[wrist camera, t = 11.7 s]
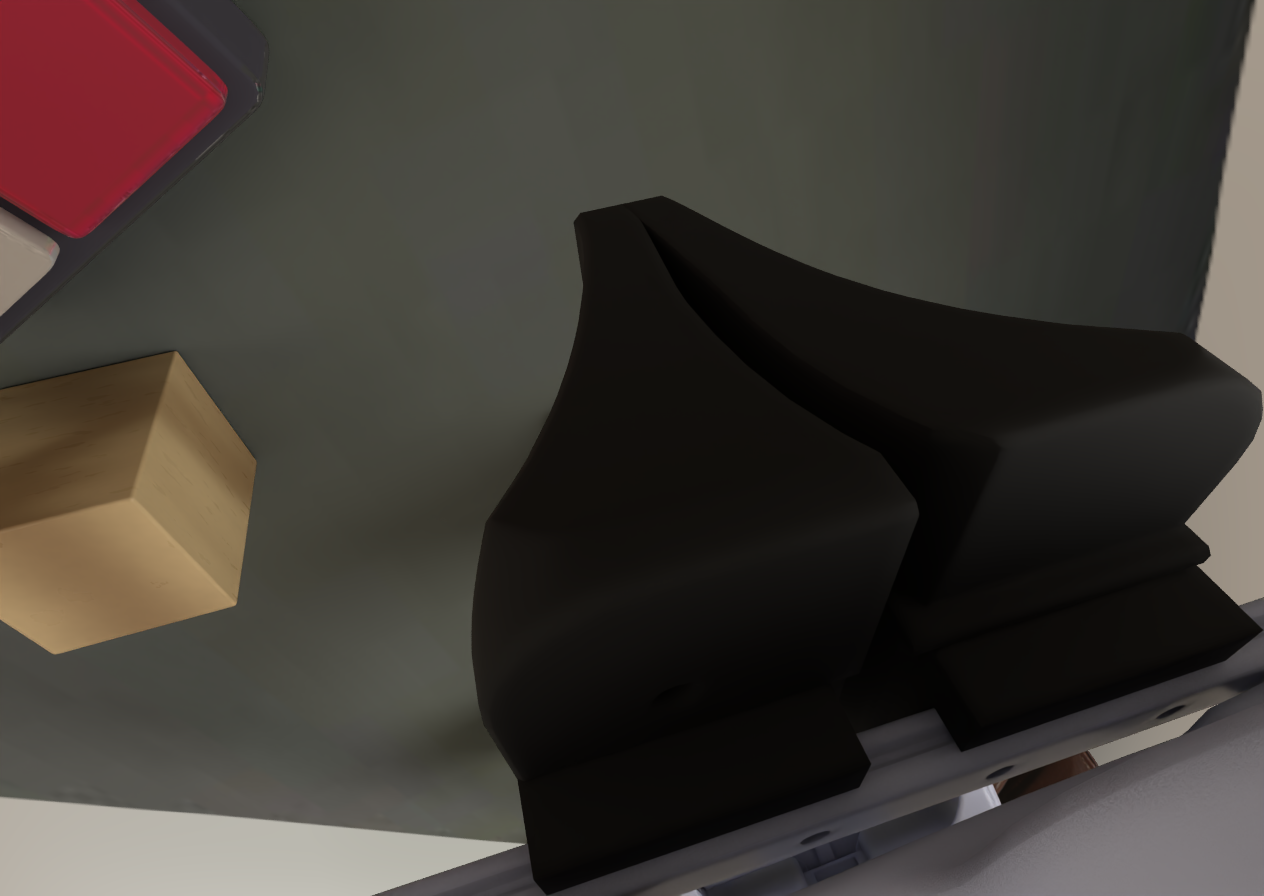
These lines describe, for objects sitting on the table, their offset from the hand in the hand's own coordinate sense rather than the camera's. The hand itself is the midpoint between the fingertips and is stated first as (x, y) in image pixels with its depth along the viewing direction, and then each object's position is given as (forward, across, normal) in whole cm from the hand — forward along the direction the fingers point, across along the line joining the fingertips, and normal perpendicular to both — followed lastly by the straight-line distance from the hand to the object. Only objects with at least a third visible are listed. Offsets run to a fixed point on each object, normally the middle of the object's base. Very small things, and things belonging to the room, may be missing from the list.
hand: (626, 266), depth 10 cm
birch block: (+10, +14, +8) cm, 19 cm away
